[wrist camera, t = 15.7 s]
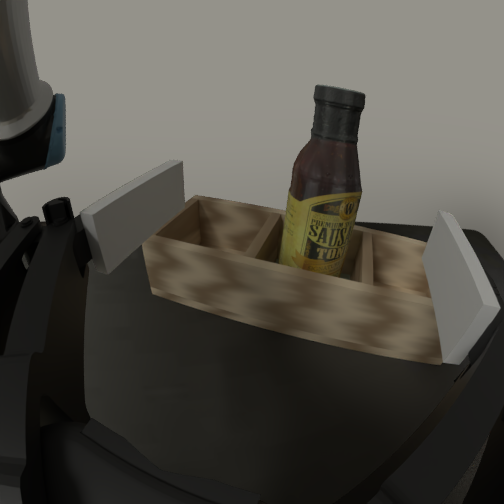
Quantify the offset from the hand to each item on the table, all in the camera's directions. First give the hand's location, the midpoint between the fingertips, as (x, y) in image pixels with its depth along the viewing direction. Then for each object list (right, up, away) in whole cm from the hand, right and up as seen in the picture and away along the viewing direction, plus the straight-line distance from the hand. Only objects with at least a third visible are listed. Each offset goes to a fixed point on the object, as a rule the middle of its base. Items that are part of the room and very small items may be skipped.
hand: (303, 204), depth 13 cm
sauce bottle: (+3, -6, +16) cm, 18 cm away
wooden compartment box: (+3, -7, +17) cm, 19 cm away
